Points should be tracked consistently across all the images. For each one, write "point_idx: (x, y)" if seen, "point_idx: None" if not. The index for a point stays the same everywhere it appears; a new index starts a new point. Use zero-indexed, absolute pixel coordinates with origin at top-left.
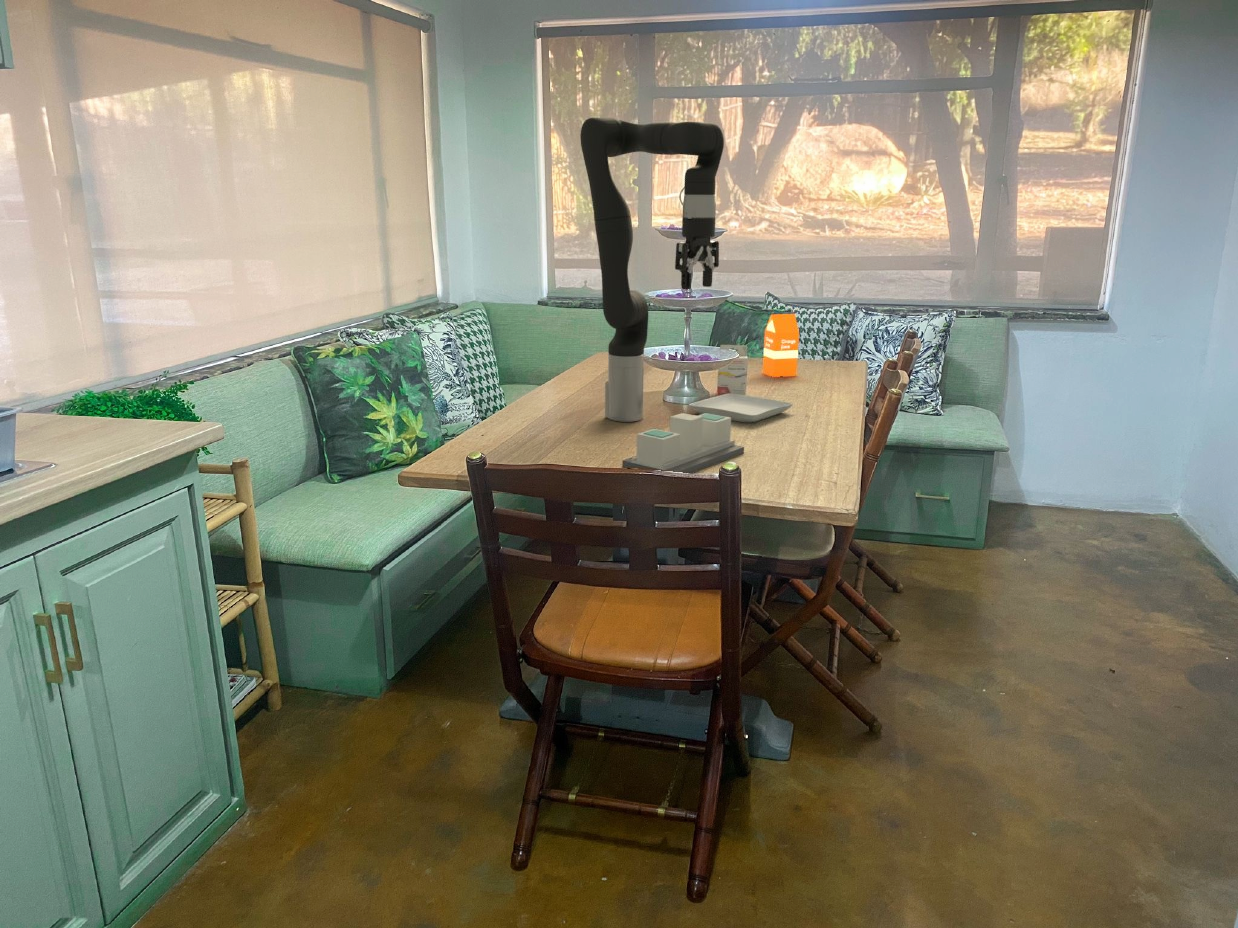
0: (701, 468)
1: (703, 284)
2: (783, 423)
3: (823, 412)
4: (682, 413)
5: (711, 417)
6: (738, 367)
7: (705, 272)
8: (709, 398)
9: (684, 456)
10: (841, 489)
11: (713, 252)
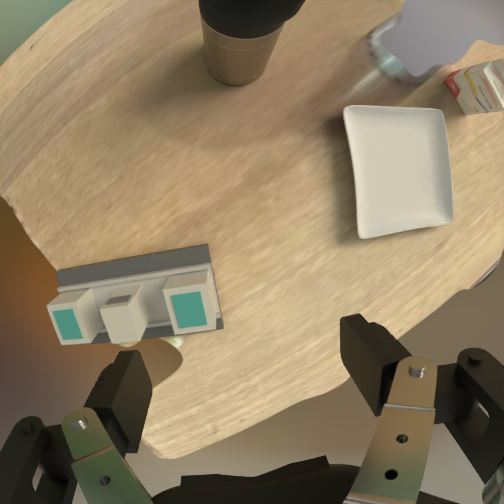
0: None
1: (344, 325)
2: (394, 251)
3: (464, 245)
4: (127, 307)
5: (186, 314)
6: (488, 100)
7: (374, 378)
8: (398, 108)
9: None
10: (204, 441)
11: (493, 466)
